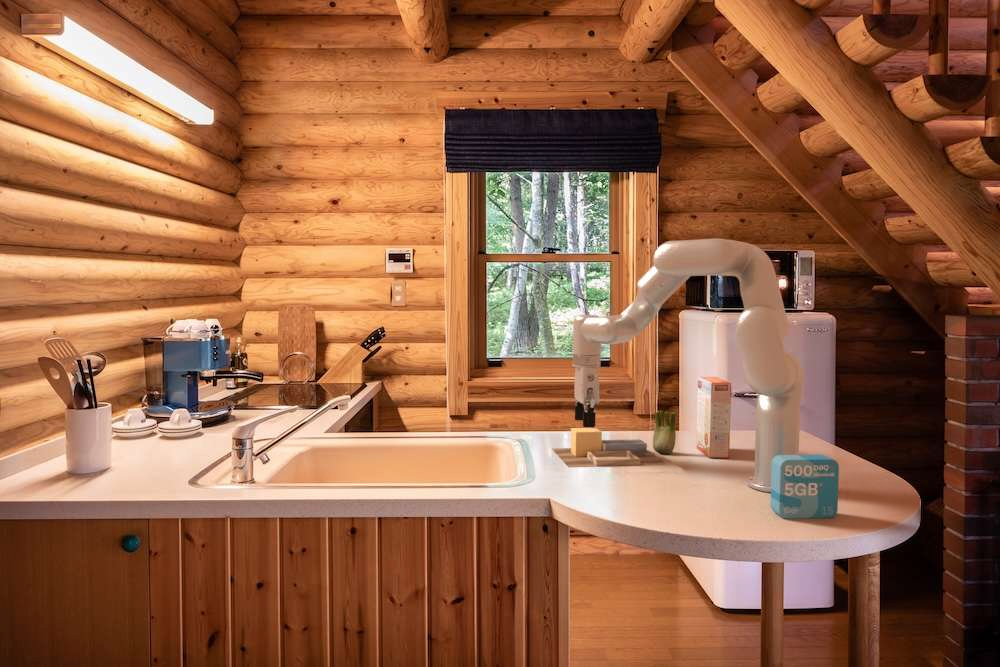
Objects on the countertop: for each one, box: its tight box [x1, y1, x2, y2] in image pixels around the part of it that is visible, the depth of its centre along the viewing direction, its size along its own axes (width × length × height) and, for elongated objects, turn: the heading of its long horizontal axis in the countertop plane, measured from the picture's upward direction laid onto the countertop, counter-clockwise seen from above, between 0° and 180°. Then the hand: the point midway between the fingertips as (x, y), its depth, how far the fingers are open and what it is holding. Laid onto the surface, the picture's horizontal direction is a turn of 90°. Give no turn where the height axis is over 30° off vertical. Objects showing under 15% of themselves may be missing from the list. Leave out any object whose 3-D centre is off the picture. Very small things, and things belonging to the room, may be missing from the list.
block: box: [570, 427, 603, 456], centre depth 200 cm, size 6×7×6 cm
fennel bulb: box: [652, 410, 677, 455], centre depth 206 cm, size 6×5×12 cm
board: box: [551, 439, 669, 468], centre depth 197 cm, size 22×26×4 cm
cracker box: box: [696, 376, 733, 459], centre depth 206 cm, size 14×6×21 cm, turn 179°
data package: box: [770, 454, 840, 520], centre depth 149 cm, size 12×4×12 cm, turn 93°
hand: (584, 423), depth 200 cm, fingers open, 9 cm apart
